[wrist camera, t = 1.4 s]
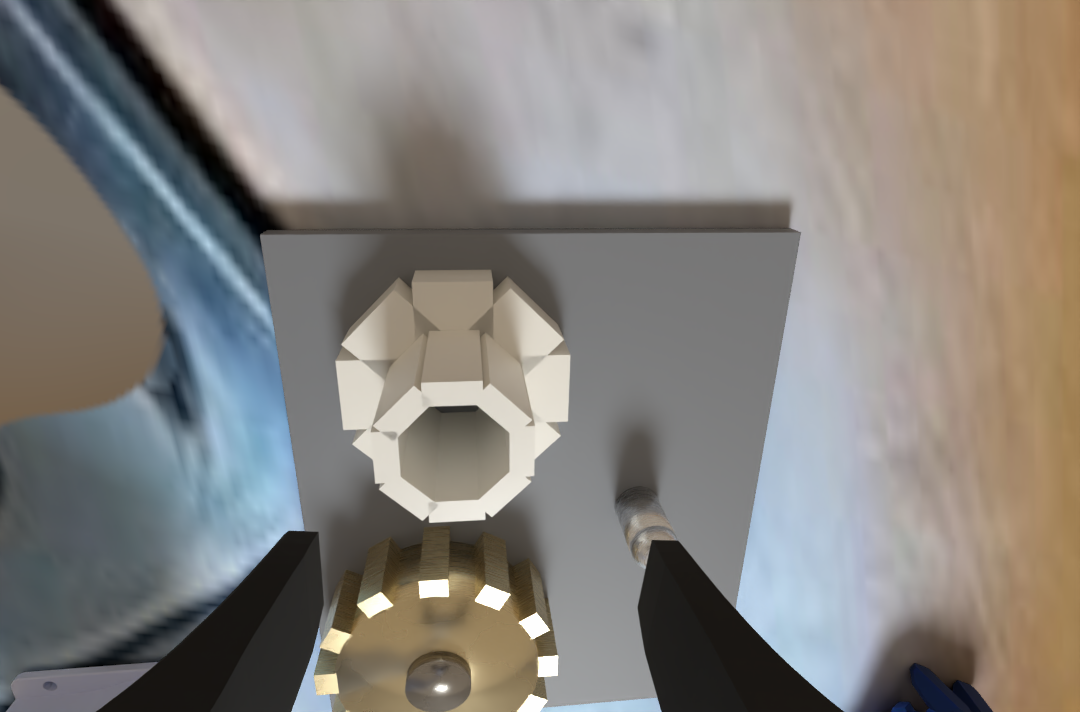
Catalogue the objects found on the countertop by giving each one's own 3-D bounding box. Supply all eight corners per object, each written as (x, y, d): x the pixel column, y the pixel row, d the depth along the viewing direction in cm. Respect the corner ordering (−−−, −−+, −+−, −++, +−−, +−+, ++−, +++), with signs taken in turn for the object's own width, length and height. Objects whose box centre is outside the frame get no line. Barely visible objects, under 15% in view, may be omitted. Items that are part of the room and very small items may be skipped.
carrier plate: (337, 710, 28) (334, 726, 28) (267, 230, 20) (259, 234, 20) (714, 677, 30) (720, 691, 30) (789, 228, 22) (800, 232, 22)
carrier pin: (613, 524, 25) (634, 584, 22) (615, 487, 25) (638, 543, 22) (656, 522, 26) (682, 581, 22) (659, 485, 25) (688, 540, 22)
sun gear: (342, 700, 27) (325, 783, 24) (318, 533, 24) (295, 602, 21) (545, 683, 28) (556, 761, 25) (550, 520, 25) (563, 584, 22)
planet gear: (357, 471, 23) (327, 574, 18) (335, 271, 20) (293, 326, 15) (559, 461, 24) (585, 558, 19) (566, 268, 21) (598, 320, 16)
